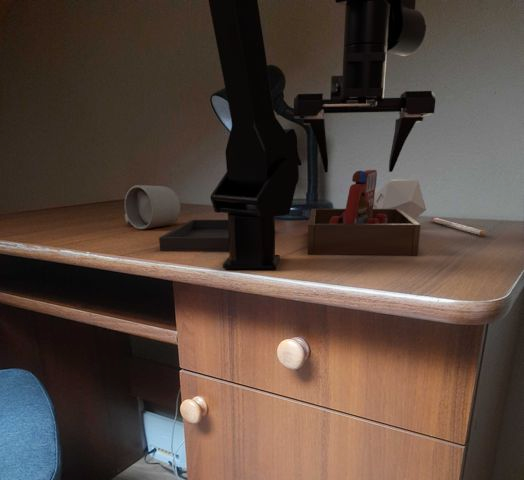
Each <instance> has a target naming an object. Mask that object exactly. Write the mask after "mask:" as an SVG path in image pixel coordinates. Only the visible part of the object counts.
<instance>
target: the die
mask: <svg viewBox="0 0 524 480" xmlns="http://www.w3.org/2000/svg"><path fill="white" fill-rule="evenodd" d="M373 209H401V210H403V211H404V212H405V213H406V214H408V215H409V216H410V217H411V218H413V219H414V220H415V221H416V219H417V218H419V216H421V215H422V214H423V213H425V212H426V211H427V208H426V204H425V200H424V196H423V192H422V190H421V186H420V182H419V180H418V179H395V178H393V179H391V180H389V181H388V182H387V183H385V184H384V185H383V186H382V187H381V188H380V189H379V190H378V191H376V192H375V195H374V206H373Z"/></svg>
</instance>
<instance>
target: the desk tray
mask: <svg viewBox="0 0 524 480" xmlns="http://www.w3.org/2000/svg"><path fill="white" fill-rule="evenodd" d="M158 243H159V251H160V252H161V251H162V252H229V234H228V219H191V220H188V221H187V222H185V223H183V224H181V225H180V226H178V227H176V228H174V229H172V230H170V231H168V232H167V233H165V234H163V235H161V236H159V237H158Z"/></svg>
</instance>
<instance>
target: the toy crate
mask: <svg viewBox="0 0 524 480" xmlns="http://www.w3.org/2000/svg"><path fill="white" fill-rule="evenodd" d="M345 209H346V208H311V209H310V214H309V218H308V219H309V220H308V223H307V255H341V256H342V255H345V256H346V255H347V256H348V255H349V256H351V255H352V256H355V255H356V256H418V254H419V248H420V247H419V245H420V238H421V226H422V225H421V223H419V222H418V221H417V220H416V219H415V220H414V219H413V218H411V217H410V216H409V215H408V214H406V213H405V212H404V211H403V210H401V209H374V208H373V217H372V218H375V217H376V215H377V214H386V215H387V218H388V224H329V222H330V219H331V218H332V217H333V216H341V214H342V213H343V212H345Z"/></svg>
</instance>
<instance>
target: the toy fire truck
mask: <svg viewBox="0 0 524 480" xmlns="http://www.w3.org/2000/svg"><path fill="white" fill-rule="evenodd" d="M377 177H378V171H377V170H376V169H367V170H356V171H355V172H354V173H353V175H352V179H351V181H352V182H353V184H351V185H350V186H349V190H348V195H347V200H346V205H345V208H344V209H345V212H343V213H342V214H341V216H333V217H332V218H331V219H330V222H329V224H388V218H387V215H386V214H377V215H376V217H375V218H372V217H373V209H374V207H373V206H374V195H375V194H376V188H377Z"/></svg>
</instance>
